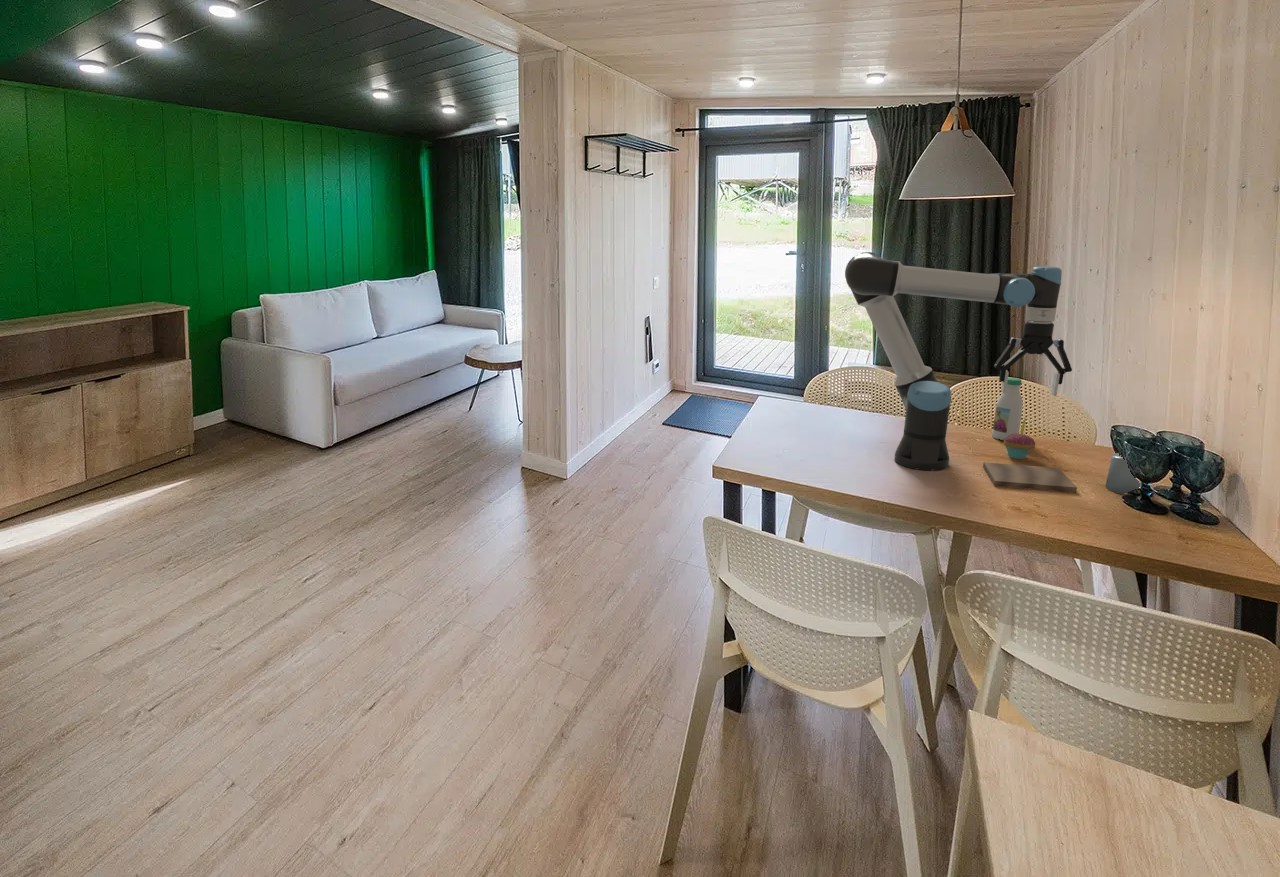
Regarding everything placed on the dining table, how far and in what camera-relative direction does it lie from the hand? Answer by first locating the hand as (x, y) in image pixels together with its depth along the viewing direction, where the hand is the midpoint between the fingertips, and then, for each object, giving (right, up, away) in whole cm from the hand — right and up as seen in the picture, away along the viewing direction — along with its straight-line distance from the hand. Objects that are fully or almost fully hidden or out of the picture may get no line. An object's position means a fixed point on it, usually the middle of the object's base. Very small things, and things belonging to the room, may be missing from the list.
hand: (1028, 393), depth 214 cm
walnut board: (-7, -25, -13) cm, 29 cm away
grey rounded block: (+14, -27, -20) cm, 37 cm away
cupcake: (0, -19, +6) cm, 20 cm away
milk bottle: (+5, -13, +25) cm, 28 cm away
